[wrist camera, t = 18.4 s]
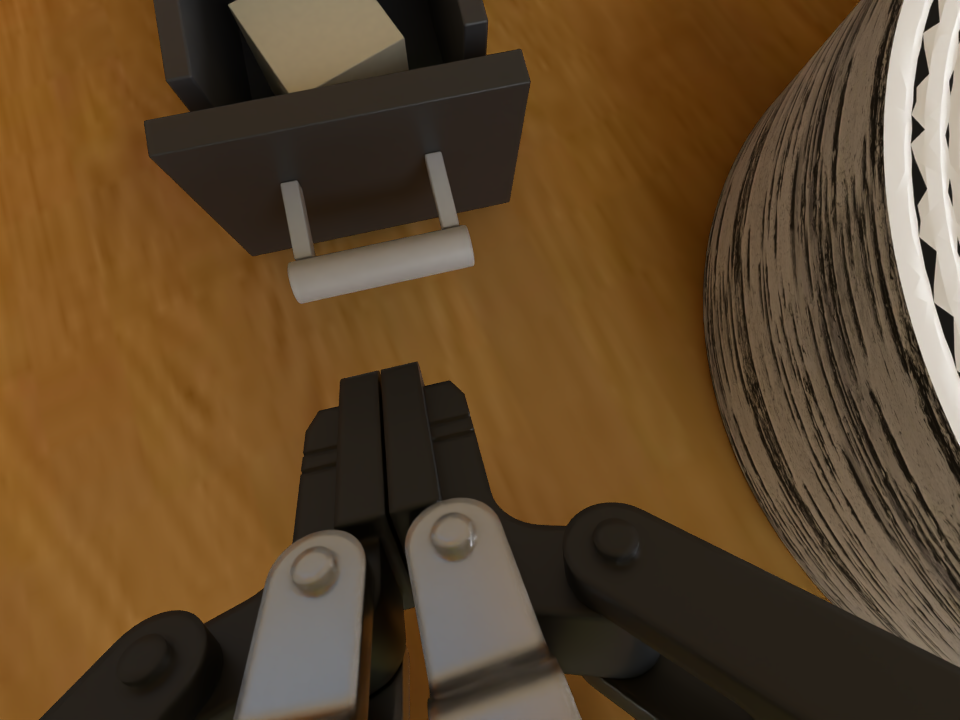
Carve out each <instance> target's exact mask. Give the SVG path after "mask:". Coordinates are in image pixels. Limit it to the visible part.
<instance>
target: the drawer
mask: <svg viewBox="0 0 960 720" xmlns="http://www.w3.org/2000/svg"><path fill="white" fill-rule="evenodd" d="M153 1H154V8H155V14H156V20H157V27H158V33H159V40H160V46H161V53H162V59H163V65H164V72H165V78H166V82H167V83H168V84H169V86H170V87H171V88H172V89H173V91H174V92H175V93H176V94H177V96H178V97H179V98H180V100H181V101H182V102H183V103H184V105H185V106H186V107H187V108H188V110H189V111H190V112H188V113H182V114H177V115H172V116H167V117H162V118H156V119H151V120H146V121H144V126H145V133H146V140H147V147H148V153H149V157H150V158H151V159H152V160H153V161H154V162H155V163H156V164H157V165H158V166H159V167H160V168H161V169H162V170H163V171H164V172H165V173H167V174H168V175H169V176H170V177H171V178H172V179H173V180H174V181H175V182H176V183H177V184H178V185H179V186H180V187H181V188H182V189H183V190H184V191H185V192H186V193H187V194H188V195H189V196H190V197H191V198H192V199H193V200H194V201H196V202H197V203H198V204H199V205H200V206H201V207H202V208H203V209H204V210H205V211H206V212H207V213H208V214H209V215H210V216H211V217H212V218H213V219H214V220H215V221H216V222H217V223H218V224H219V225H220V226H221V227H222V228H223V229H225V230H226V231H227V232H228V233H229V234H230V235H231V236H232V237H233V238H234V239H235V240H236V241H237V242H238V243H239V244H240V245H241V246H242V247H243V248H244V249H245V250H246V251H247V252H248V253H249V254H250V255H251V256H257V255H261V254H266V253H271V252H276V251H280V250H285V249H290V248H292V249H293V254H294V259H295V260H296V261H293V262H290V263H289V264H288V277H289V282H290V285H291V288H292V291H293V294H294V296H295V298H296V299H297V301H298V302H299V303H301V304H302V303H307V302H311V301H316V300H320V299H325V298H330V297H334V296H339V295H343V294H348V293H352V292H357V291H362V290H366V289H371V288H375V287H380V286H384V285H389V284H393V283H398V282H403V281H407V280H412V279H416V278H421V277H425V276H430V275H435V274H439V273H444V272H448V271H453V270H457V269H462V268H467V267H471V266H474V254H473V248H472V243H471V239H470V235H469V232H468V229H467V227H466V225H462V226H459V221H458V217H457V213H460V212H465V211H469V210H474V209H479V208H484V207H488V206H493V205H498V204H502V203H507V202H509V201H510V196H511V190H512V184H513V179H514V173H515V167H516V162H517V156H518V150H519V144H520V139H521V133H522V127H523V122H524V116H525V110H526V105H527V99H528V93H529V88H530V82H531V81H530V78H529V74H528V71H527V67H526V64H525V60H524V57H523V53H522V50H521V49H517V50H512V51H507V52H501V53H496V54H491V55H486V50H487V32H488V18H487V15H486V11H485V8H484V4H483V1H482V0H377V2H378V3H379V4H380V6H381V7H382V8H383V10H384V11H385V12H386V14H387V15H388V16H389V18H390V19H391V20H392V22H393V23H394V25H395V26H396V27H397V29H398V30H399V31H400V33H401V34H402V35H403V37H404V39H405V47H406V54H407V61H408V68H409V70H407V71H402V72H397V73H392V74H386V75H381V76H376V77H371V78H365V79H360V80H355V81H350V82H345V83H339V84H334V85H329V86H324V87H318V88H313V89H308V90H303V91H297V92H292V93H287V94H282V95H277V96H275V94H274V93H273V91H272V90H271V88H270V86H269V84H268V82H267V80H266V78H265V76H264V74H263V72H262V70H261V68H260V66H259V64H258V63H257V61H256V59H255V57H254V55H253V53H252V51H251V49H250V47H249V45H248V43H247V41H246V39H245V37H244V36H243V34H242V32H241V30H240V28H239V26H238V24H237V22H236V20H235V18H234V16H233V14H232V12H231V10H230V9H229V7H228V4H230V3H232V2H234V1H236V0H153ZM436 217H439V221H440V225H441V229H442V230H438V231H434V232H429V233H424V234H420V235H415V236H410V237H406V238H401V239H396V240H392V241H387V242H382V243H377V244H373V245H368V246H363V247H359V248H354V249H349V250H345V251H340V252H335V253H331V254H326V255H321V256H315V251H314V246H313V243H318V242H323V241H328V240H332V239H337V238H342V237H346V236H351V235H356V234H361V233H365V232H370V231H375V230H380V229H384V228H389V227H394V226H398V225H403V224H408V223H413V222H417V221H422V220H427V219H432V218H436Z"/></svg>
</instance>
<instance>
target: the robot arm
mask: <svg viewBox="0 0 960 720" xmlns="http://www.w3.org/2000/svg"><path fill="white" fill-rule="evenodd" d="M303 453H304V457H303V459H302V467H301V471H302V475H301V476H300V484H299V493H298V501H297V510H296V518H295V527H294V535H293V543H292V545H290V546H289V547H288V548H287V549H286V550H285V551H283V553H282V554H281V555H280V556H279V557H278V558H277V560H276V561H275V562H274V564H273V565H272V567H271V569H270V571H269V573H268V576H267V579H266V583H265V587H264V588H263V589H262V590H261V591H259V592H258V593H257V594H256V595H254V596H252V597H251V598H249V599H248V600H246V601H244V602H242V603H241V604H239V605H237V606H235V607H233V608H232V609H230V610H228V611H226V612H224V613H223V614H221V615H219V616H217V617H215V618H213V619H212V620H210V621H208V622H206V623H204V624H203V622H202V621H201V620H200V619H199V618H198V617H197V616H196V615H194V614H192V613H190V612H187V611H181V610H176V611H168V612H163V613H160V614H157V615H154V616H152V617H150V618H148V619H146V620H144V621H142V622H140V623H139V624H137V625H136V626H134V627H133V628H131V629H130V630H129V631H128V632H126V633H125V634H124V635H123V636H122V637H121V638H119V639H118V640H117V641H116V642H115V643H114V644H113V645H112V646H111V647H110V648H109V649H108V650H107V651H106V652H105V653H104V654H103V655H102V656H101V657H100V658H99V659H98V660H97V661H96V662H95V663H94V664H93V665H92V666H91V668H90V669H89V670H88V671H87V672H86V673H85V674H84V675H83V676H82V677H81V678H80V679H79V680H78V681H77V682H76V683H75V684H74V685H73V686H72V687H71V688H70V689H69V690H68V691H67V692H66V693H65V694H64V695H63V696H62V697H61V698H60V699H59V700H58V701H57V702H56V703H55V704H54V705H53V706H52V707H51V708H50V709H49V710H48V711H47V712H46V713H45V714H44V715H43V716H42V717H41V718H40V719H39V720H410V660H409V652H408V649H407V646H406V635H405V622H404V610H406V609H410V608H413V607H415V609H416V615H417V620H418V626H419V631H420V637H421V643H422V648H423V654H424V659H425V665H426V671H427V676H428V682H429V690H430V698H429V699H428V718H429V720H582V719H581V717H580V714H579V711H578V709H577V706H576V704H575V701H574V698H573V696H572V693H571V691H570V688H569V685H568V683H567V680H566V678H565V676H564V674H574V675H582V676H583V678H584V679H585V680H586V681H587V682H588V683H589V684H590V685H591V686H592V687H594V688H595V689H596V690H598V691H599V692H600V693H602V694H603V695H604V696H606V697H607V698H608V699H610V700H611V701H612V702H614V703H615V704H616V705H618V706H619V707H620V708H622V709H623V710H624V711H626V712H627V713H628V714H630V715H631V716H632V717H634V718H635V719H636V720H960V667H958V666H956V665H954V664H952V663H950V662H948V661H946V660H944V659H942V658H940V657H938V656H936V655H934V654H932V653H930V652H928V651H926V650H924V649H922V648H920V647H918V646H916V645H914V644H912V643H910V642H908V641H906V640H904V639H902V638H900V637H898V636H896V635H894V634H892V633H890V632H888V631H886V630H884V629H882V628H880V627H878V626H876V625H873V624H871V623H869V622H867V621H865V620H863V619H861V618H859V617H857V616H855V615H853V614H851V613H849V612H847V611H845V610H843V609H841V608H839V607H837V606H835V605H833V604H831V603H829V602H827V601H825V600H823V599H821V598H819V597H817V596H815V595H813V594H811V593H809V592H807V591H805V590H803V589H801V588H799V587H797V586H795V585H793V584H791V583H789V582H787V581H785V580H783V579H781V578H779V577H777V576H775V575H773V574H771V573H769V572H767V571H765V570H763V569H761V568H759V567H757V566H755V565H753V564H751V563H749V562H747V561H744V560H742V559H740V558H738V557H736V556H734V555H732V554H730V553H728V552H726V551H724V550H722V549H720V548H718V547H716V546H714V545H712V544H710V543H708V542H706V541H704V540H702V539H700V538H698V537H696V536H694V535H692V534H690V533H688V532H686V531H684V530H682V529H680V528H678V527H676V526H674V525H672V524H670V523H668V522H666V521H664V520H662V519H660V518H658V517H656V516H654V515H652V514H650V513H648V512H646V511H644V510H642V509H639V508H637V507H635V506H632V505H628V504H624V503H616V502H613V503H601V504H596V505H593V506H590V507H588V508H586V509H584V510H582V511H580V512H579V513H578V514H576V515H575V516H574V517H573V518H572V519H571V521H570V522H569V524H568V525H567V526H551V525H536V524H530V523H525V522H522V521H520V520H517V519H515V518H513V517H511V516H509V515H508V514H507V513H505V512H504V511H503V510H502V509H501V508H500V507H499V506H498V505H497V503H496V502H495V500H494V499H493V496H492V493H491V490H490V487H489V483H488V479H487V476H486V472H485V468H484V464H483V461H482V457H481V453H480V450H479V446H478V442H477V438H476V435H475V431H474V427H473V424H472V420H471V417H470V412H469V409H468V405H467V401H466V398H465V394H464V393H463V392H462V391H461V390H460V389H458V388H457V387H456V386H455V385H454V384H453V383H452V382H451V381H450V380H449V381H445V382H440V383H436V384H432V385H427V386H424V382H423V378H422V374H421V371H420V367H419V364H418V361H417V362H413V363H408V364H404V365H400V366H395V367H391V368H387V369H382V370H381V374H380V372H379V371H374V372H370V373H365V374H361V375H357V376H352V377H348V378H344V379H341V380H340V393H339V406H338V407H334V408H329V409H325V410H321V411H319V412H318V413H317V415H316V416H315V418H314V419H313V421H312V423H311V424H310V426H309V427H308V429H307V430H306V434H305V442H304V451H303Z"/></svg>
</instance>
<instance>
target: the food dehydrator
mask: <svg viewBox="0 0 960 720" xmlns="http://www.w3.org/2000/svg"><path fill="white" fill-rule="evenodd" d="M703 312H704V329H705V340H706V348H707V356H708V362H709V368H710V373H711V378H712V383H713V387H714V391H715V395H716V399H717V403H718V406H719V410H720V413H721V417H722V420H723V423H724V426H725V429H726V432H727V434H728V437H729V440H730V443H731V445H732V448H733V450H734V453H735V455H736V458H737V460H738V462H739V465H740V467H741V469H742V471H743V473H744V475H745V477H746V479H747V481H748V484H749V486H750V488H751V490H752V492H753V493H754V495H755V497H756V499H757V501H758V503H759V505H760V506H761V508H762V510H763V511H764V513H765V515H766V517H767V518H768V520H769V522H770V523H771V525H772V526H773V528H774V529H775V531H776V532H777V534H778V536H779V537H780V539H781V540H782V542H783V543H784V544H785V546H786V547H787V548H788V550H789V551H790V553H791V554H792V555H793V557H794V558H795V560H796V561H797V562H798V563H799V565H800V566H801V567H802V569H803V570H804V571H805V572H806V574H807V575H808V576H809V577H810V579H811V580H812V581H813V582H814V583H815V585H816V586H817V587H818V588H819V589H820V590H821V591H822V593H823V594H824V595H825V596H826V597H827V598H828V599H829V600H830V601H831V602H832V603H833V604H834V605H835V606H837V607H839V608H841V609H843V610H845V611H847V612H849V613H851V614H853V615H855V616H857V617H859V618H861V619H863V620H865V621H867V622H869V623H871V624H873V625H876V626H878V627H880V628H882V629H884V630H886V631H888V632H890V633H892V634H894V635H896V636H898V637H900V638H902V639H904V640H906V641H908V642H910V643H912V644H914V645H916V646H918V647H920V648H922V649H924V650H926V651H928V652H930V653H932V654H934V655H936V656H938V657H940V658H942V659H944V660H946V661H948V662H950V663H952V664H954V665H956V666H958V667H960V0H861V1H860V2H859V3H858V4H857V6H856V7H855V8H854V9H853V10H852V11H851V12H850V14H849V15H848V16H847V17H846V18H845V19H844V21H843V22H842V23H841V24H840V25H839V26H838V28H837V29H836V30H835V31H834V32H833V33H832V35H831V36H830V37H829V38H828V39H827V40H826V42H825V43H824V44H823V45H822V46H821V47H820V49H819V50H818V51H817V52H816V53H815V54H814V55H813V57H812V58H811V59H810V60H809V61H808V62H807V64H806V65H805V66H804V67H803V68H802V69H801V71H800V72H799V73H798V74H797V75H796V76H795V78H794V79H793V80H792V81H791V82H790V83H789V85H788V86H787V87H786V88H785V89H784V90H783V92H782V93H781V94H780V95H779V96H778V97H777V99H776V100H775V101H774V102H773V103H772V105H771V106H770V107H769V108H768V109H767V110H766V112H765V113H764V114H763V116H762V117H761V118H760V120H759V121H758V122H757V124H756V125H755V127H754V128H753V130H752V131H751V133H750V134H749V136H748V137H747V139H746V141H745V142H744V144H743V146H742V148H741V150H740V151H739V153H738V155H737V157H736V159H735V161H734V163H733V165H732V167H731V170H730V172H729V174H728V176H727V179H726V181H725V184H724V187H723V189H722V192H721V195H720V198H719V201H718V204H717V207H716V210H715V214H714V218H713V222H712V226H711V231H710V235H709V241H708V247H707V253H706V262H705V271H704V289H703Z"/></svg>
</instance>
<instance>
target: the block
mask: <svg viewBox="0 0 960 720" xmlns="http://www.w3.org/2000/svg"><path fill="white" fill-rule="evenodd" d="M228 7H229V9H230V10H231V12H232V14H233V16H234V18H235V20H236V22H237V24H238V26H239V28H240V30H241V32H242V34H243V36H244V37H245V39H246V41H247V43H248V45H249V47H250V49H251V51H252V53H253V55H254V57H255V59H256V61H257V63H258V64H259V66H260V68H261V70H262V72H263V74H264V76H265V78H266V80H267V82H268V84H269V86H270V88H271V90H272V91H273V93H274V94H275V96H277V95H282V94H287V93H292V92H297V91H303V90H308V89H313V88H318V87H324V86H329V85H334V84H339V83H345V82H350V81H355V80H360V79H365V78H371V77H376V76H381V75H386V74H392V73H397V72H402V71H407V70H409V68H408V61H407V54H406V47H405V39H404V37H403V35H402V34H401V33H400V31H399V30H398V29H397V27H396V26H395V25H394V23H393V22H392V20H391V19H390V18H389V16H388V15H387V14H386V12H385V11H384V10H383V8H382V7H381V6H380V4H379V3H378V2H377V0H236V1H234V2H232V3H230V4H228Z"/></svg>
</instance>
